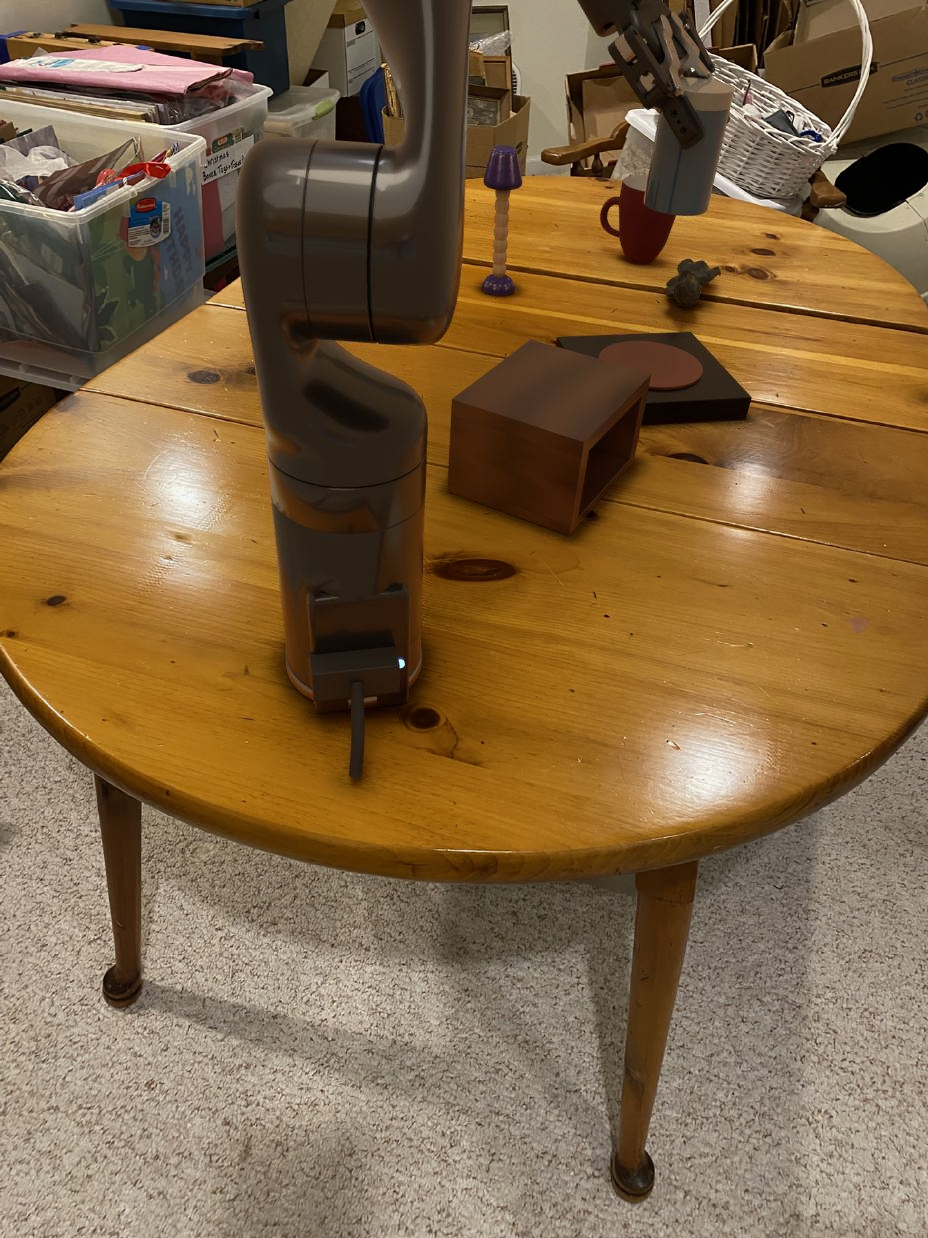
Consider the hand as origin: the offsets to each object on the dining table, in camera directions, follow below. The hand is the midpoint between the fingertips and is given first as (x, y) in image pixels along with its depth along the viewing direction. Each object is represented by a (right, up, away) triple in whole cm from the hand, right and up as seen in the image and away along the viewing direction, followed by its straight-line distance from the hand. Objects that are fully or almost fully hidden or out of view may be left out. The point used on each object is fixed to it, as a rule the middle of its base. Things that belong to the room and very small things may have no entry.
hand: (708, 135), depth 82 cm
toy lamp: (-18, -1, +36) cm, 40 cm away
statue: (+7, -2, +37) cm, 37 cm away
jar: (-2, -4, +5) cm, 7 cm away
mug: (+2, +8, +48) cm, 49 cm away
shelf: (-14, -30, +3) cm, 33 cm away
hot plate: (-2, -18, +18) cm, 25 cm away
